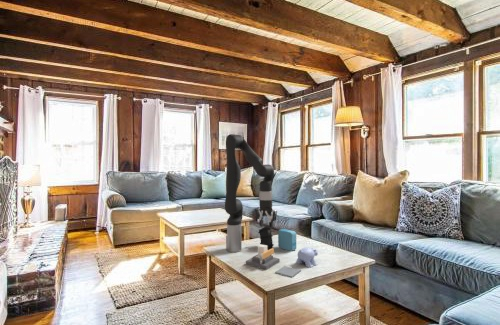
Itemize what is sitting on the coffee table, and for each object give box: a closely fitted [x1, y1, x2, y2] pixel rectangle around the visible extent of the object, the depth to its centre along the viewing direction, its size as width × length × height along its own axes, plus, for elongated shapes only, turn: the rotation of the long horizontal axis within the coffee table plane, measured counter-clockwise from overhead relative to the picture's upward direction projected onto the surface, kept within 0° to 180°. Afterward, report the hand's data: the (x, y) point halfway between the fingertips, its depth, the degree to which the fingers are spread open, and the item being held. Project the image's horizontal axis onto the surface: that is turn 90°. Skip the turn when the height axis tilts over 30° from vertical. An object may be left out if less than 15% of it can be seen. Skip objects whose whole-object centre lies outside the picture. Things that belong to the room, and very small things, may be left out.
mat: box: [274, 265, 302, 278], centre depth 153 cm, size 10×10×1 cm
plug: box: [256, 244, 269, 259], centre depth 166 cm, size 6×6×8 cm
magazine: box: [257, 225, 274, 250], centre depth 194 cm, size 4×13×15 cm, turn 29°
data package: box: [277, 228, 297, 252], centre depth 192 cm, size 12×4×12 cm, turn 43°
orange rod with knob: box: [259, 247, 275, 260], centre depth 164 cm, size 2×14×3 cm, turn 144°
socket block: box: [245, 253, 281, 271], centre depth 166 cm, size 14×14×4 cm
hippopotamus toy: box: [295, 247, 319, 269], centre depth 166 cm, size 11×15×10 cm
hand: (266, 227), depth 170 cm, fingers open, 5 cm apart
